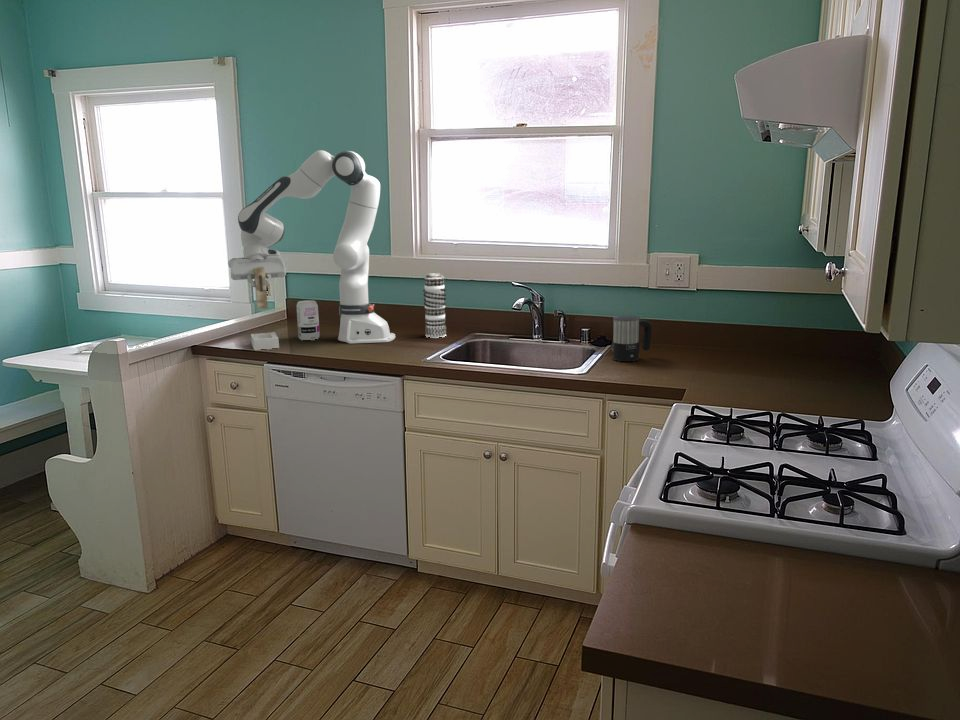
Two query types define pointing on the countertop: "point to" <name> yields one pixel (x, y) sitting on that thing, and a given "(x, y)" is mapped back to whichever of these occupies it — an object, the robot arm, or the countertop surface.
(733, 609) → the countertop surface
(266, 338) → the white rectangular tray
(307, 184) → the robot arm
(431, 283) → the decorative candle
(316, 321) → the supplement can
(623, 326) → the milk frother
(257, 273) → the beige wooden block
